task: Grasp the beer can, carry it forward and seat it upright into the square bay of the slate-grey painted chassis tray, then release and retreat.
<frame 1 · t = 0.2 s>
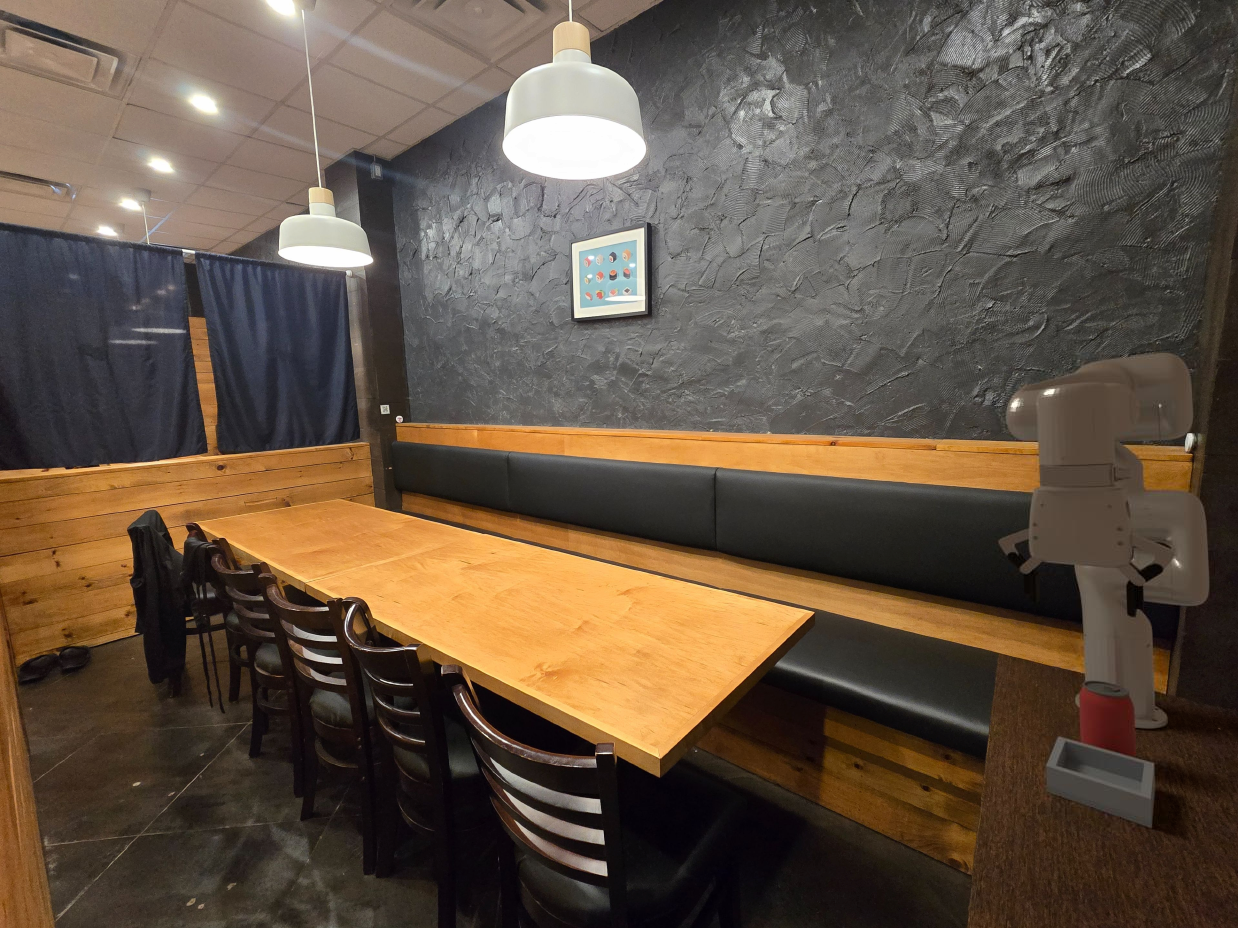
hand: (1081, 607, 69), 31 cm above the table, fingers open, 9 cm apart
chassis tray: (1100, 790, 78), on the table
beer can: (1108, 761, 85), on the table
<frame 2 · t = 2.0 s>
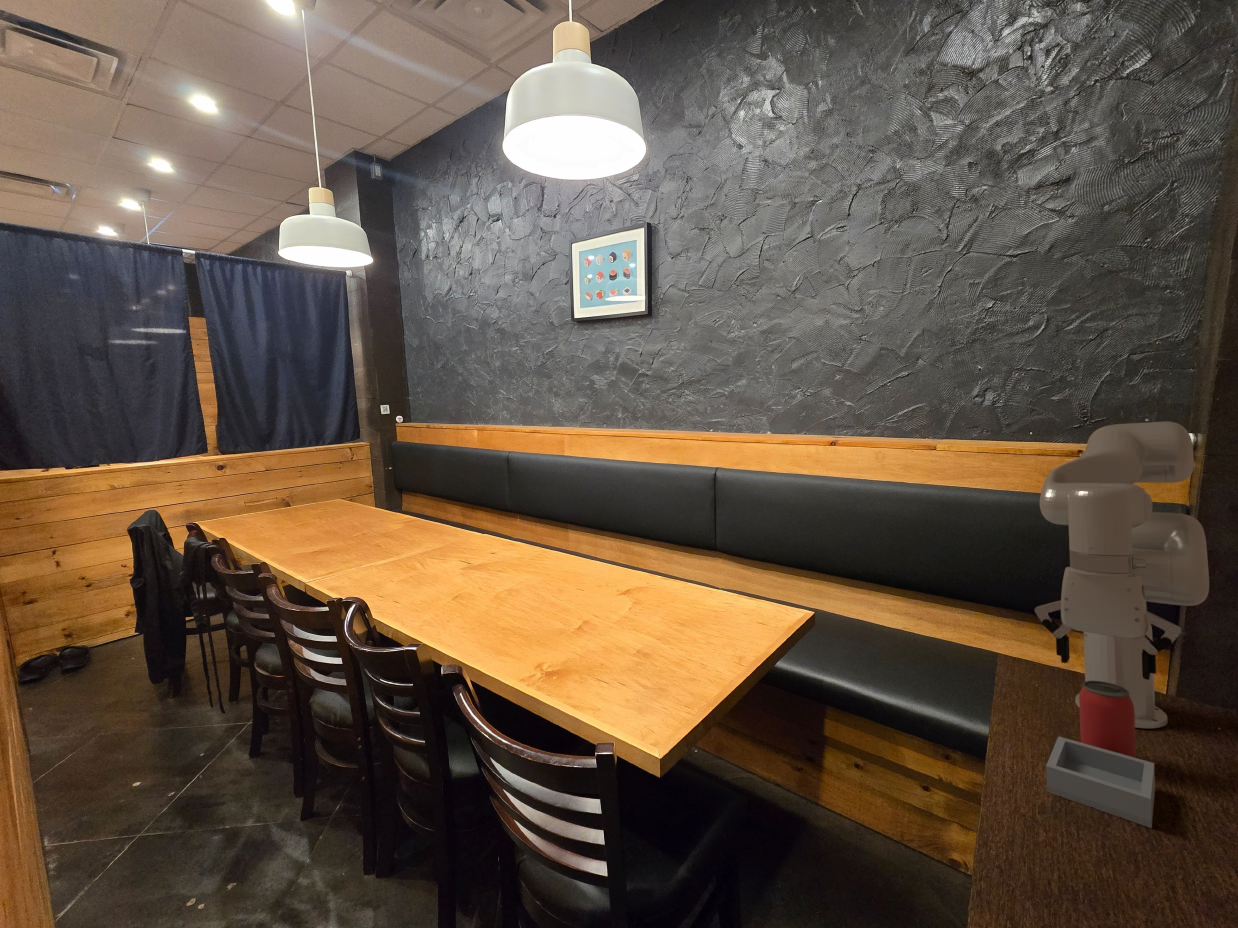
hand: (1104, 668, 84), 15 cm above the table, fingers open, 9 cm apart
nothing on the table moved.
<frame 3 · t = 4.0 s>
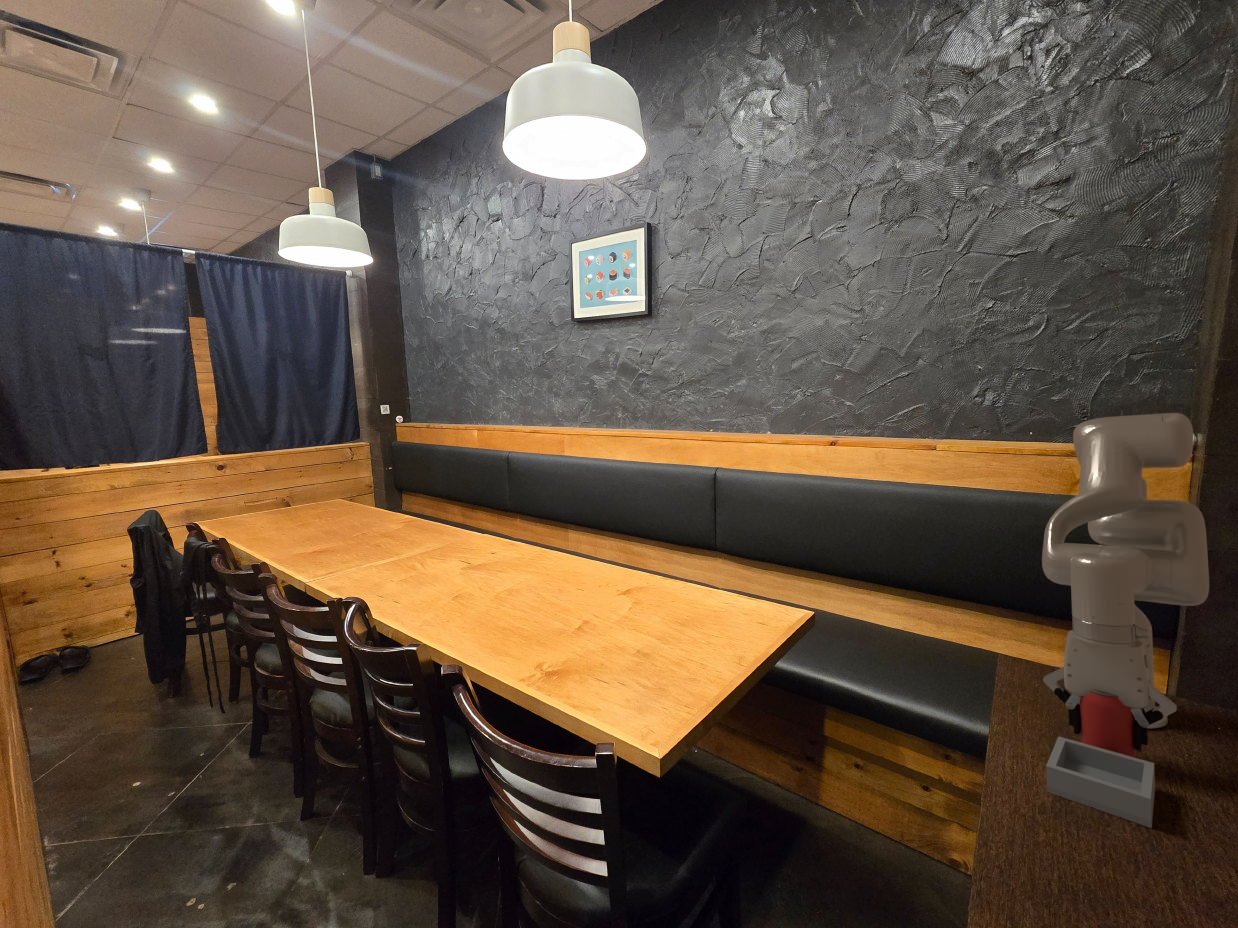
hand: (1107, 737, 85), 4 cm above the table, fingers closed on beer can, 6 cm apart
beer can: (1108, 761, 85), on the table, touching gripper
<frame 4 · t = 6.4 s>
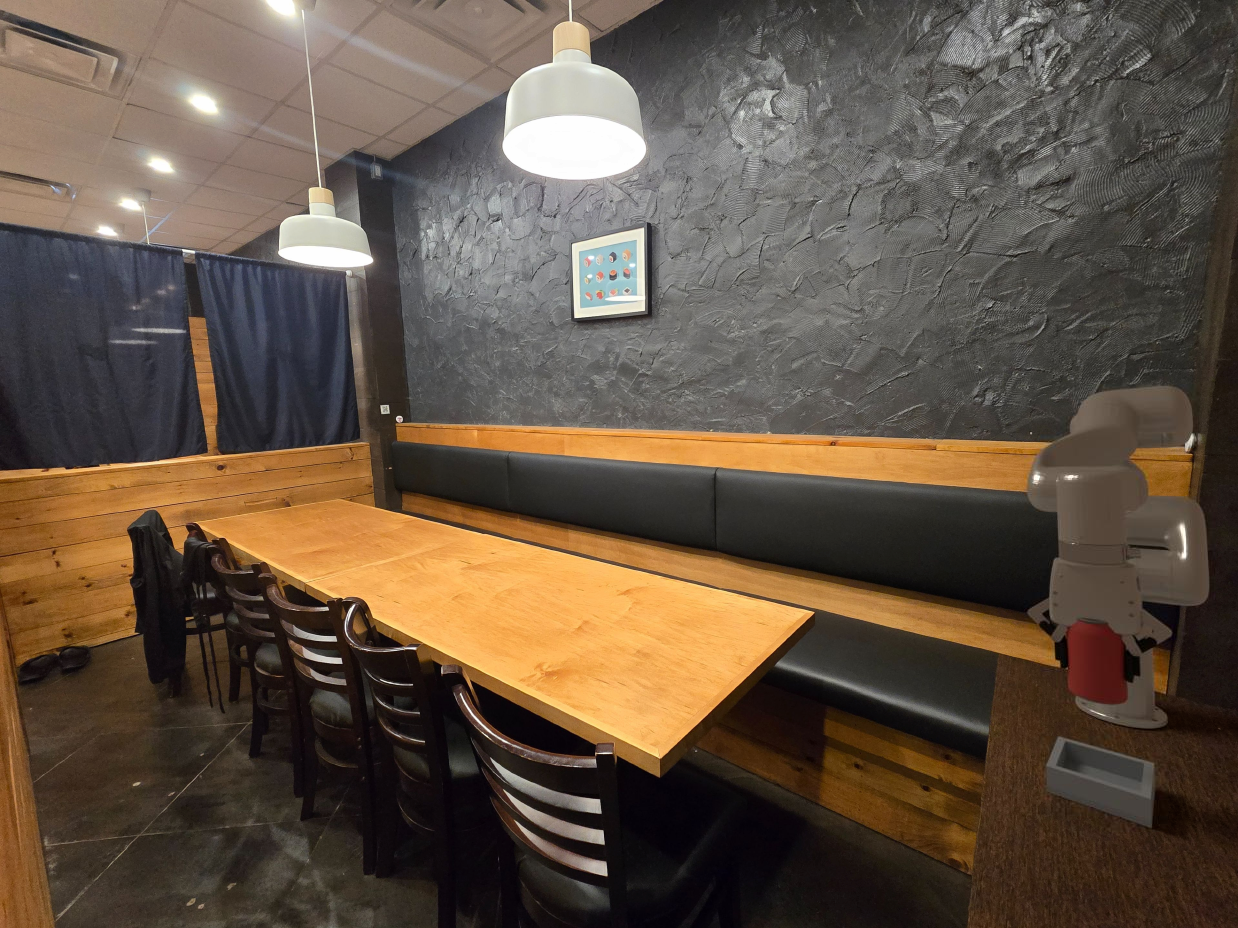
hand: (1096, 671, 78), 18 cm above the table, fingers closed on beer can, 6 cm apart
beer can: (1097, 697, 78), point 14 cm above the table, touching gripper
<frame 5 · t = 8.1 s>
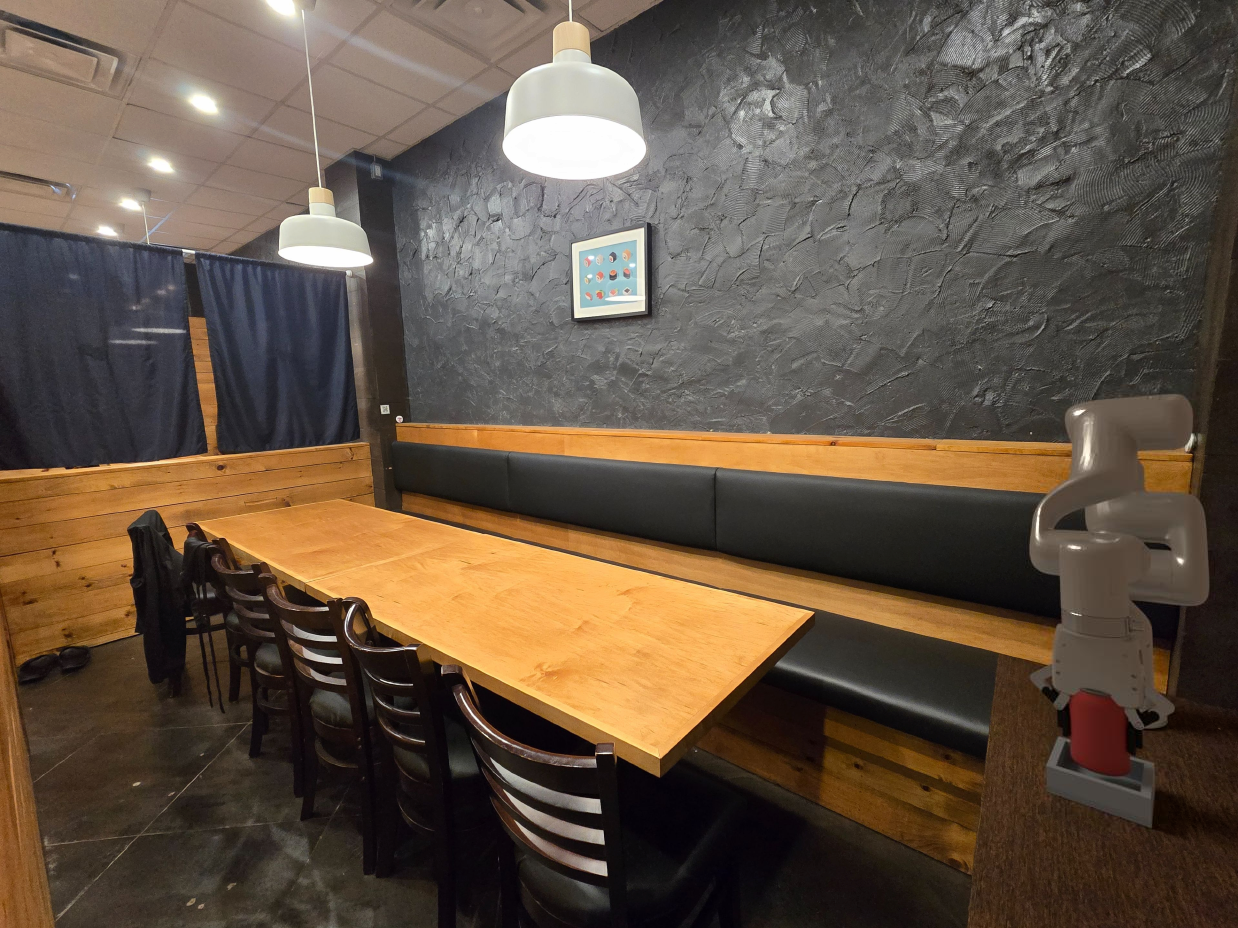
hand: (1098, 740, 78), 8 cm above the table, fingers closed on beer can, 6 cm apart
beer can: (1099, 766, 78), point 4 cm above the table, touching gripper
when the fingers open (7 cm above the table, at t = 9.3 s): beer can drops 2 cm, resting on chassis tray.
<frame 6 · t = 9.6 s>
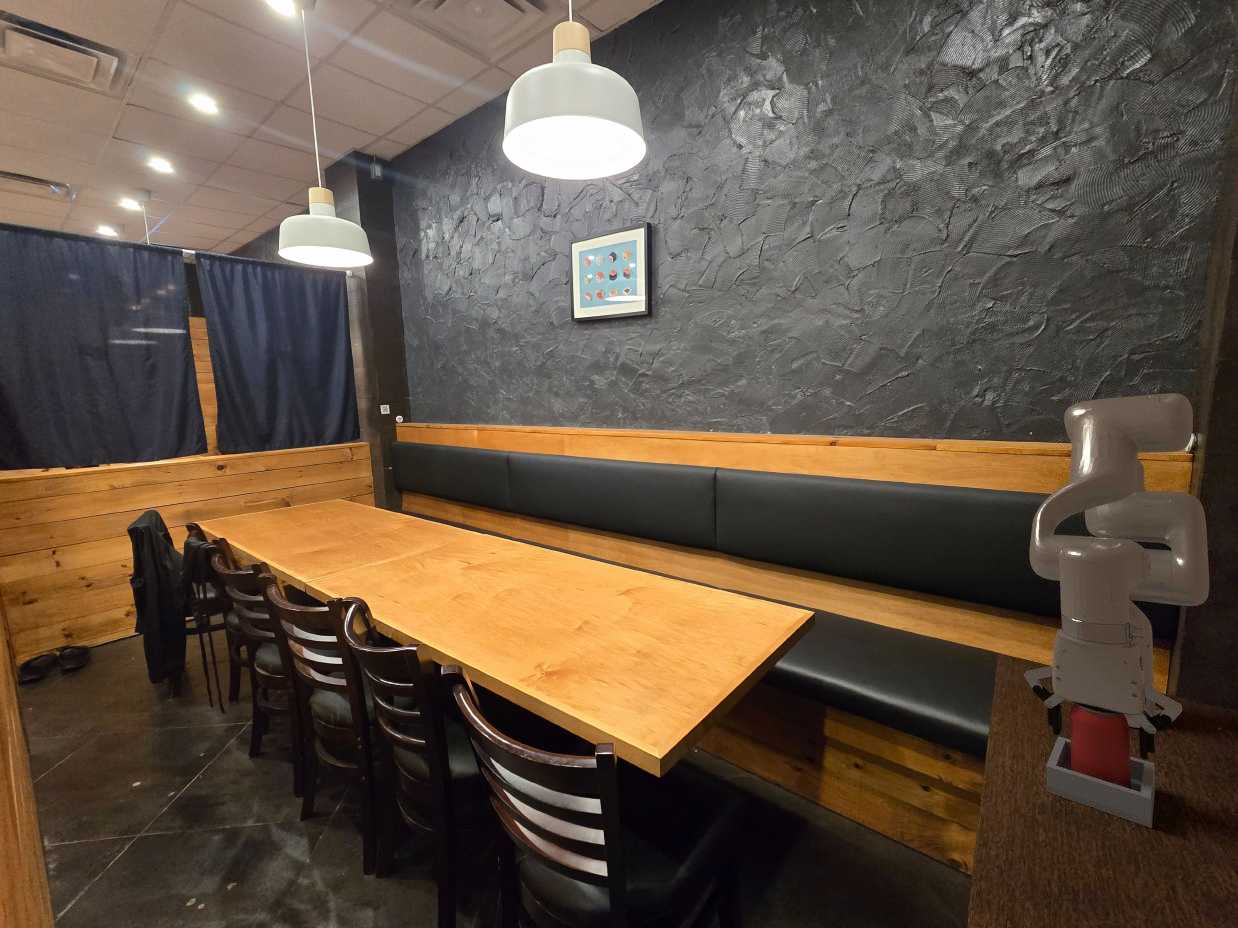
hand: (1099, 742, 78), 7 cm above the table, fingers open, 9 cm apart
beer can: (1100, 784, 78), point 1 cm above the table, touching chassis tray
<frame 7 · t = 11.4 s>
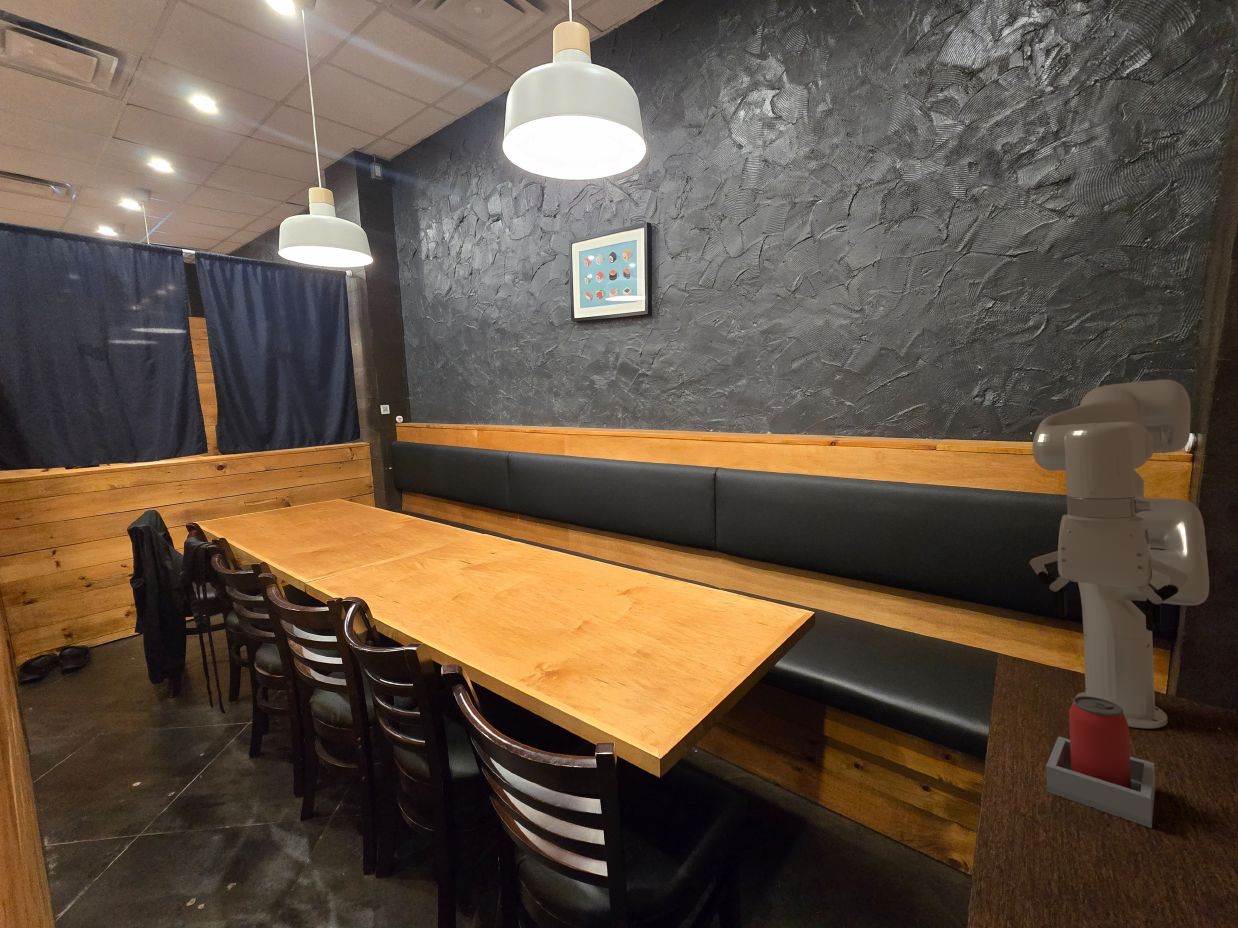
hand: (1104, 621, 78), 25 cm above the table, fingers open, 9 cm apart
nothing on the table moved.
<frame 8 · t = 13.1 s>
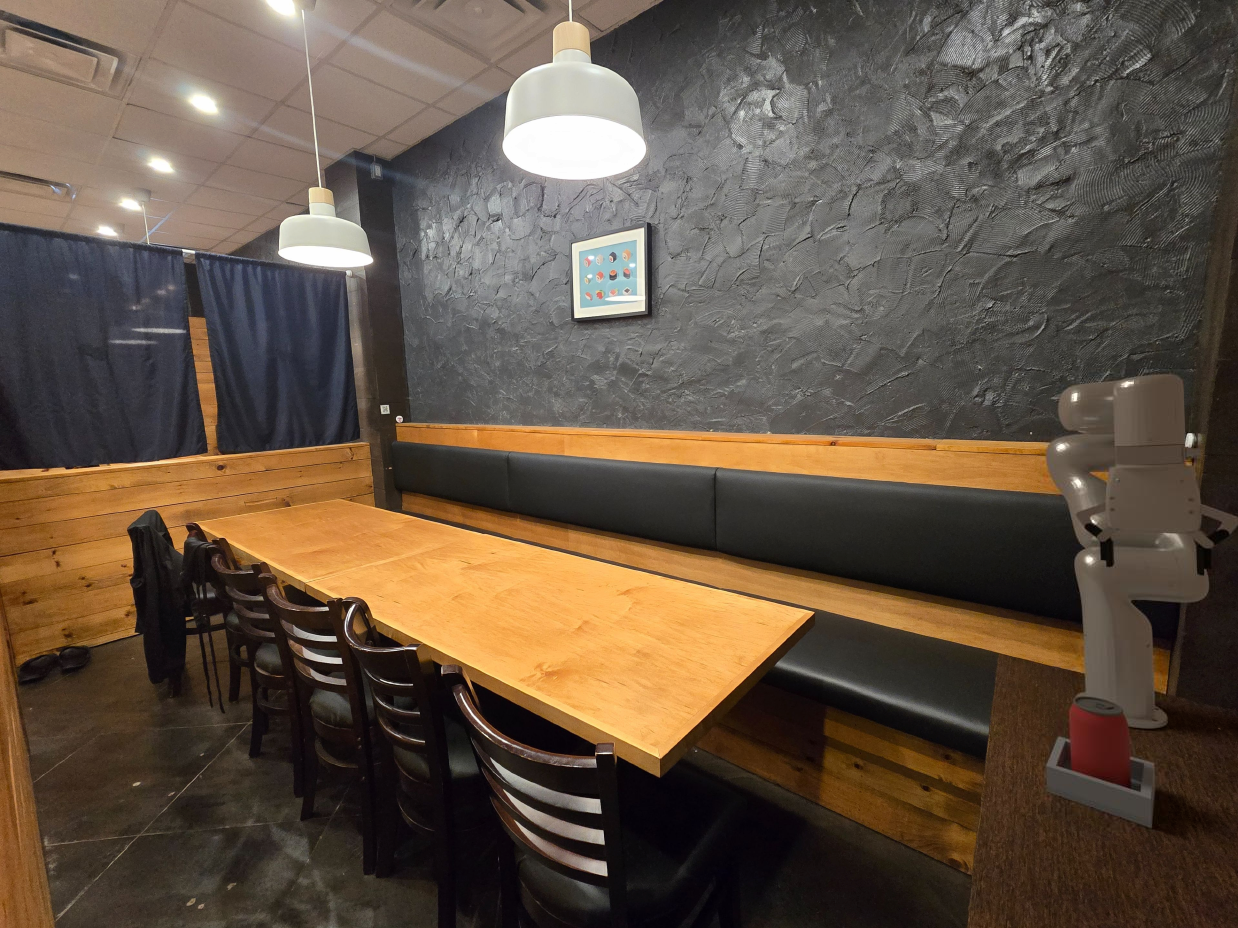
hand: (1153, 569, 79), 32 cm above the table, fingers open, 9 cm apart
nothing on the table moved.
at the end: beer can 0.1 cm from the chassis tray (horizontally); beer can tilted 0°; the gripper is holding nothing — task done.
